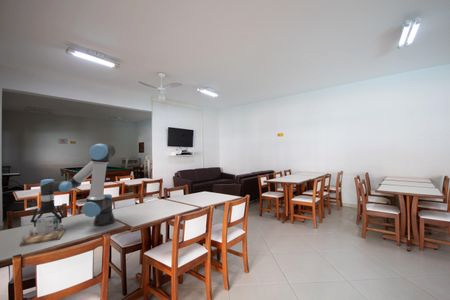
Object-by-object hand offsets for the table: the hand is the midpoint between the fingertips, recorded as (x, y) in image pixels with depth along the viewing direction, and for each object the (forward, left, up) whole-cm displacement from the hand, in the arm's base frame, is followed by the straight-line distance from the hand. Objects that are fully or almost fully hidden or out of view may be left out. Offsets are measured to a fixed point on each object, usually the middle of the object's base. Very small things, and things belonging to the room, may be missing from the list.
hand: (48, 229), depth 153 cm
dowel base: (-1, +15, -1) cm, 15 cm away
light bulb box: (0, 0, -2) cm, 2 cm away
